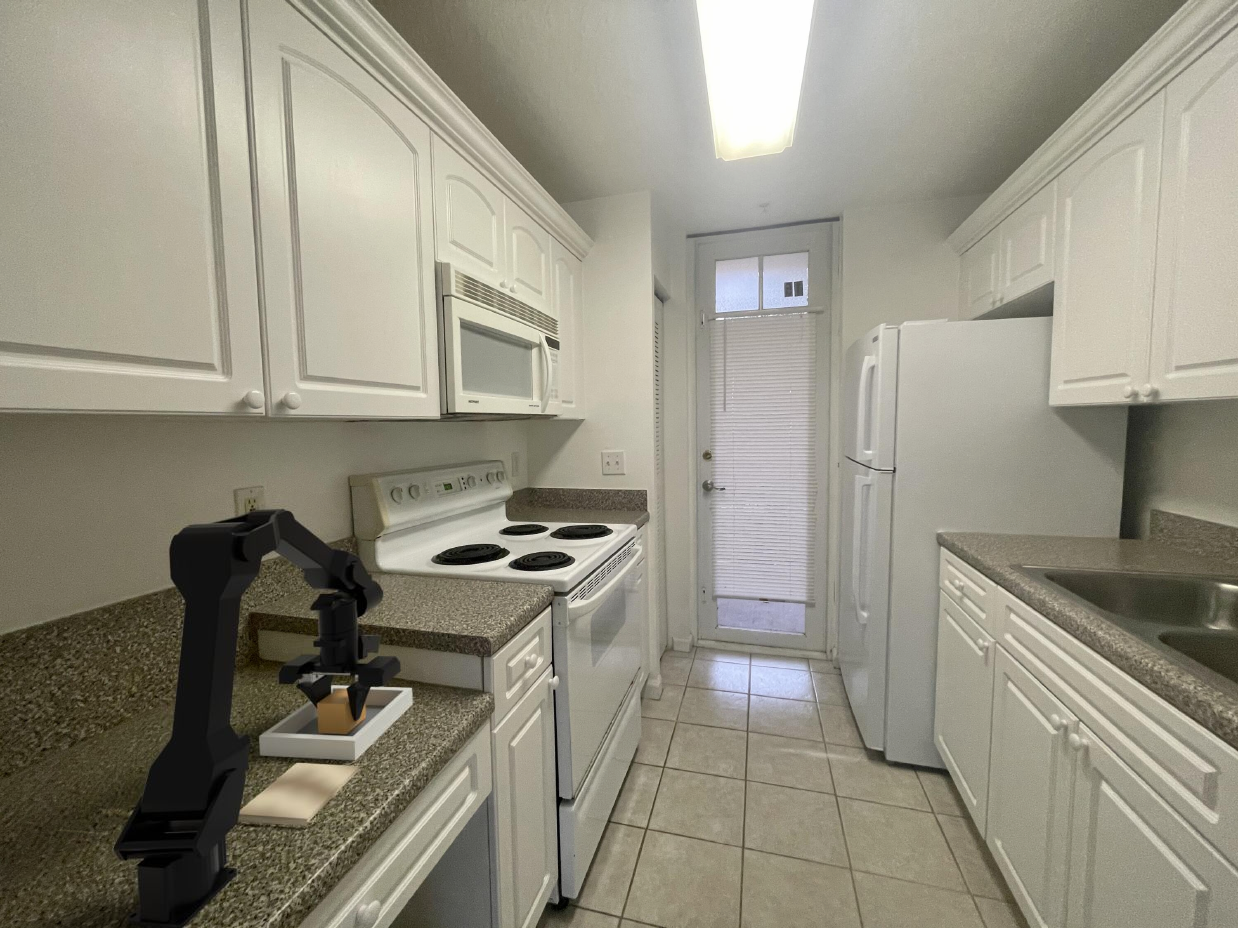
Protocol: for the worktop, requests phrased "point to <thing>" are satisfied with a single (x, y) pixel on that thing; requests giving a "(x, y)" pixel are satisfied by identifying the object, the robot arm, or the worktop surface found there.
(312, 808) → the pad
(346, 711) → the block
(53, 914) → the worktop surface
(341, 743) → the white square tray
